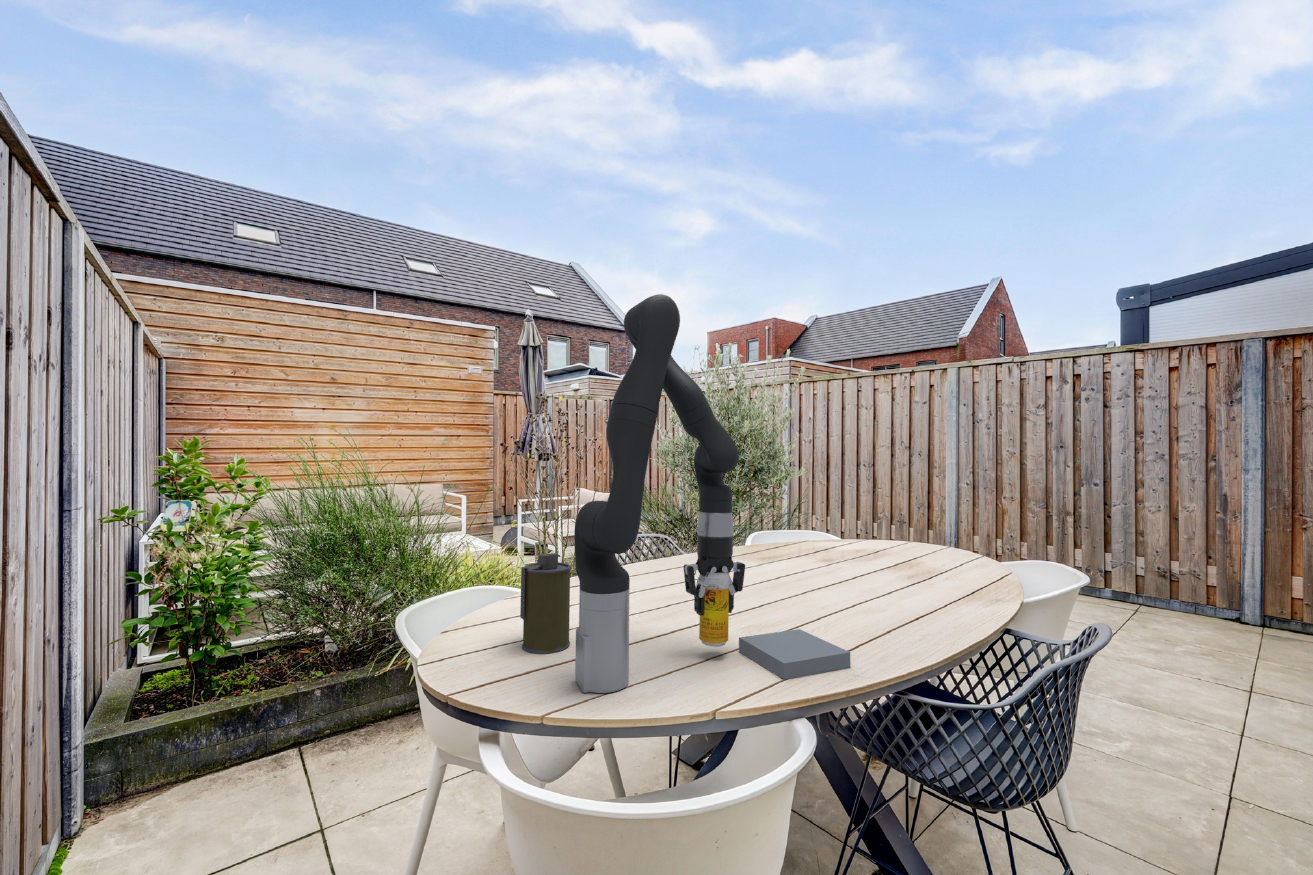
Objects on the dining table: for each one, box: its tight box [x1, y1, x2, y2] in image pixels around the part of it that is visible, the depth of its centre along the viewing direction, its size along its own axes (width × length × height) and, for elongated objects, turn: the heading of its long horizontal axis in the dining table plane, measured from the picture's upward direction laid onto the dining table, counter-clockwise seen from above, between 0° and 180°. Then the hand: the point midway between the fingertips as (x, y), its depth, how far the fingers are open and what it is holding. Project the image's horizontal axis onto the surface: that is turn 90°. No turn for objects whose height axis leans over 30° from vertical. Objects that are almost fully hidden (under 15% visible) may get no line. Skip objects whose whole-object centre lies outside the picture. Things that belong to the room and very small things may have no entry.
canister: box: [519, 552, 572, 655], centre depth 118 cm, size 11×10×20 cm
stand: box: [738, 628, 851, 681], centre depth 110 cm, size 16×16×3 cm
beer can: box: [698, 572, 730, 648], centre depth 112 cm, size 6×6×15 cm
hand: (714, 612), depth 112 cm, fingers closed on beer can, 6 cm apart
